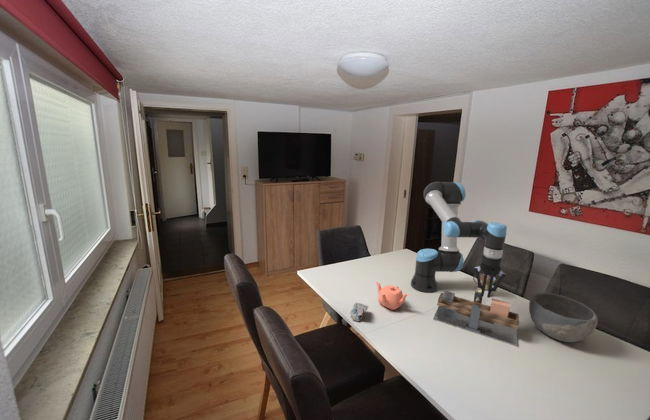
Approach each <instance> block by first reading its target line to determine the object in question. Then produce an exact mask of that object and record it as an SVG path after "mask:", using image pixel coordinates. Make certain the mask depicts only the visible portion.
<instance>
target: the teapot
mask: <svg viewBox="0 0 650 420" xmlns="http://www.w3.org/2000/svg"><path fill="white" fill-rule="evenodd" d="M375 283H376V285H377V294H378V296H377V297H378V298H377V301H378V303H379V304H380V305H381V307H385V308H388V309H389V310H390V311H394V310H397V309H398V308H401V306H402V305H403V304H404V303H405V301H406V298H407V296H409V295H410V294H409V293H404V294H403V291H402V289H401V288H400V287H398V286H394V285H391V284H387V285H385V286H383V287H382V286H381V283H379V282H378V281H375Z"/></svg>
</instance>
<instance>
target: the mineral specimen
mask: <svg viewBox="0 0 650 420" xmlns="http://www.w3.org/2000/svg"><path fill="white" fill-rule="evenodd" d="M368 308H369V305H366V304H363V303H360V302H355V303H354V305H353V306H352V309H351V310H350V314H351V315H350V317H351V318H352V319H351V320H352V321H354V322H360V321H361V320H362V319H363V316H364V314H365V313H366V311H367V310H368Z"/></svg>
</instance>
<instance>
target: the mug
mask: <svg viewBox="0 0 650 420" xmlns="http://www.w3.org/2000/svg"><path fill="white" fill-rule="evenodd" d="M475 277H477V276H476V275H474V276H473V281H474V283H475V284H476V285H477V289H476V291H478V292H481V291H482V289H481V288H478V284H477V280H475ZM483 279H484V273H480V280H481V285H483ZM496 281H497V278H496V277H495V276H494V278H493V283H492V287H494V284H495V283H496ZM489 282H490V276H489V275H487V280H486V286H485V289H488V288H489ZM493 293H494V292H493V291H492V292H491V295H490V297H491V296H493Z"/></svg>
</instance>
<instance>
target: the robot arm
mask: <svg viewBox="0 0 650 420" xmlns="http://www.w3.org/2000/svg"><path fill="white" fill-rule="evenodd" d="M465 198H466V190H465V186H464V185H463V183H460V182H457V181H434V182H431V183H429V184H428V185H426V187H425V188H424V190H423V199H424V200H425V201H424V202H426V203H427V204H428V205H430V206H431V208H432V209H433V211H434V213H436V216H438V218H439V219H440V221H441V240H440V241H441V242H440V243H441V245H440V246H439V247H438V251H437V250H436V249H433V248H423V249H420V250H419V251H417V253H416V257H415V270H414V275H413V276H412V278H411V281H410V287H411V288H413V289H414V290H416V291H417V292H418V291H419V292H422V293H430V294H431V293H434V292H436V291H437V289H438V285H437V280H436V273H439V272H440V273H441V272H442V273H443V272H446V273H447V272H448V273H453V272H456V273H457V272H459V271H461V270H462V268H463V266H464V261H465V260H464V259H465V258H464V257H463V256H464V255H463V254H462V253H461V252H460V249H459V248H458V238H474V239H475V238H479V239H482V240H484V247H483V255H482V259H481V263H480V265H479V266H478V265H477V266H474V272H475V274H476V276H475V277H476V282H477V284H478V285H477V284H476V285H477V286H478V287H477V289H478V288H481V289H482V291H481V296H483V298H482V304H484V305H487V301H488V299H490V298H491V296H490V295H491V292H492V293H494V292H496V291H497V290H498V288H499V286H500V284H501V282H502V280H503V279H504V278H506V275H507V274H506V272H503V271H502V270H501V269H502V268H501V264H502V258H503V253H504V247H505V242H506V236H507V230H508V229H507V225H506V224H504V223H500V222H494V221H493V222H489V223H487V222H485V221H484V220H473V221H462V220H461V219H460V218H459V217H458V215H459V214H458V213H459V212H458V211H459V207H460V205H462V204H461V202H464V200H465ZM480 271H481V272H482V274H484V279H483V285H481V280H480V274H481V273H480ZM487 275H489V276H490V282H489V288H488V289H485V286H486V280H487ZM497 275H498V277H497V278H496V281H495V282H494V283H493V278H494V277H495V276H497ZM492 283H493V286H492Z"/></svg>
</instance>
